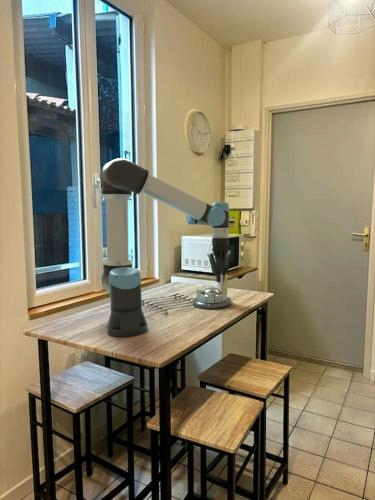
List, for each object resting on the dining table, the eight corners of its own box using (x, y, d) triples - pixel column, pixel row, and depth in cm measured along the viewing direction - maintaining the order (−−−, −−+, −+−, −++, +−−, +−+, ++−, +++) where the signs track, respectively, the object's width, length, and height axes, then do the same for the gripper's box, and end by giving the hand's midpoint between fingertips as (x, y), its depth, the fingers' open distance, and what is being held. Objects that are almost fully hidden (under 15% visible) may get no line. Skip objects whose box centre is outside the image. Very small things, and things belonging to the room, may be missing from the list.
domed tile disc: (226, 303, 172) (225, 277, 170) (194, 302, 174) (194, 277, 172) (228, 295, 185) (227, 271, 184) (199, 295, 188) (198, 271, 186)
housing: (201, 311, 168) (201, 295, 168) (187, 301, 185) (186, 287, 184) (238, 306, 175) (238, 291, 174) (220, 297, 191) (220, 283, 191)
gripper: (213, 238, 165) (213, 292, 168) (236, 237, 172) (236, 288, 175) (203, 237, 172) (203, 289, 175) (226, 235, 178) (226, 286, 181)
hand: (220, 289), depth 175 cm, fingers closed
